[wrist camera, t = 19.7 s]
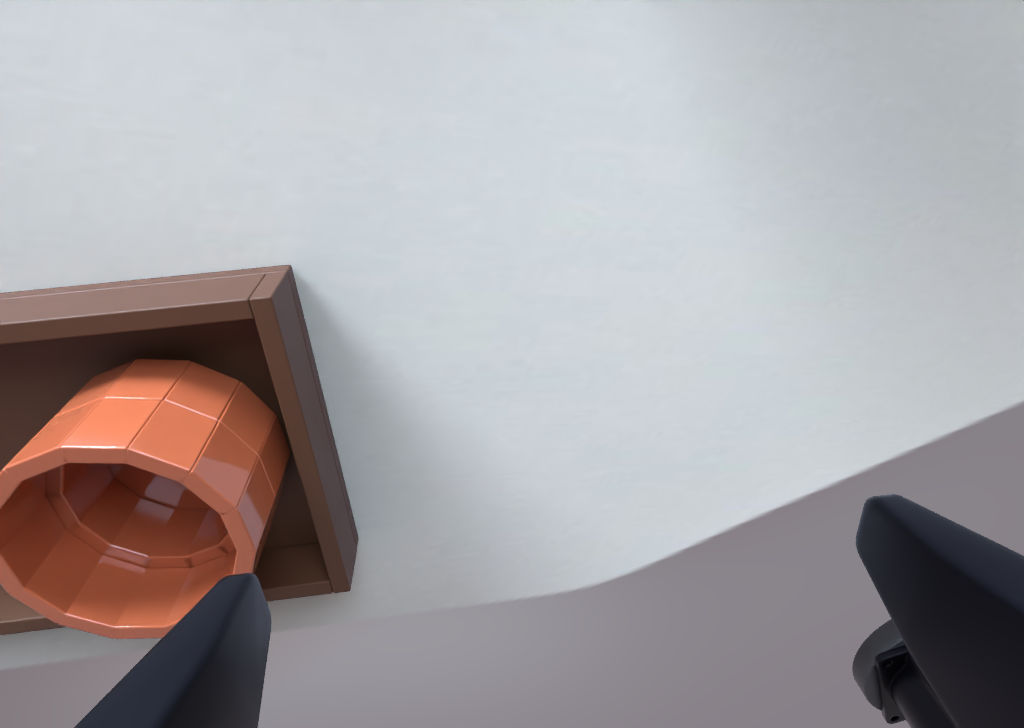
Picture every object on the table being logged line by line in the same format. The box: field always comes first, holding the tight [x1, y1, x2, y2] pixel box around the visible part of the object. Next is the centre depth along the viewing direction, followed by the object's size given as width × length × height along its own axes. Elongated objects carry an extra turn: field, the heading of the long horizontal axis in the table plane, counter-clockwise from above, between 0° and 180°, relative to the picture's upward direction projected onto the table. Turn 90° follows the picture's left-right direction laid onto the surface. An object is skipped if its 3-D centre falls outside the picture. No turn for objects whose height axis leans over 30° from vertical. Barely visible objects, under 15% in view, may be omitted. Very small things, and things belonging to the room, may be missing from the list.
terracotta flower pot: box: [0, 359, 290, 639], centre depth 19 cm, size 7×7×5 cm
